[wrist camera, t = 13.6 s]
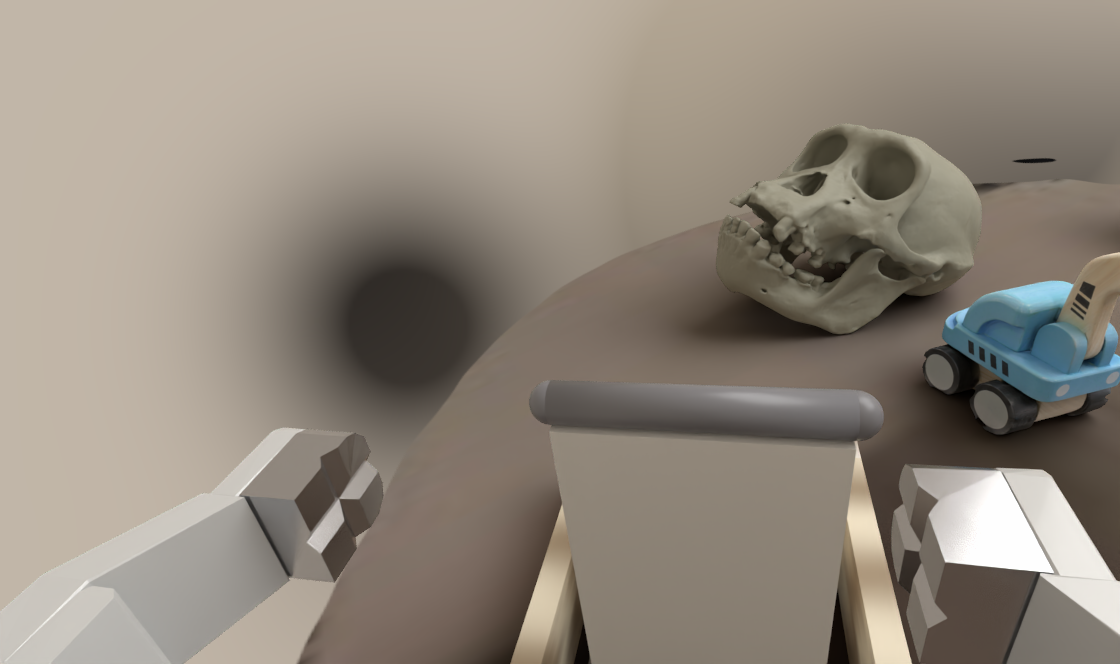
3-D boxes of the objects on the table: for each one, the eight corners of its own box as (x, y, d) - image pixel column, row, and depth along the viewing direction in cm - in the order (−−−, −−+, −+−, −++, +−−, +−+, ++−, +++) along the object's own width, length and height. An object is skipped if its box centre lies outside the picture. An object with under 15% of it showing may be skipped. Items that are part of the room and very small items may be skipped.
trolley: (835, 779, 28) (899, 412, 18) (585, 730, 32) (514, 396, 21) (806, 541, 40) (835, 233, 29) (626, 523, 43) (594, 241, 33)
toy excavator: (1088, 509, 40) (1186, 270, 31) (909, 375, 54) (943, 187, 46) (1199, 477, 41) (1323, 237, 32) (995, 354, 55) (1043, 167, 47)
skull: (816, 304, 81) (658, 249, 67) (906, 156, 75) (751, 61, 61) (936, 377, 67) (764, 327, 53) (1061, 201, 60) (903, 89, 46)
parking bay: (915, 848, 26) (939, 778, 23) (521, 762, 31) (500, 695, 28) (846, 503, 43) (855, 437, 40) (596, 483, 48) (588, 423, 45)
